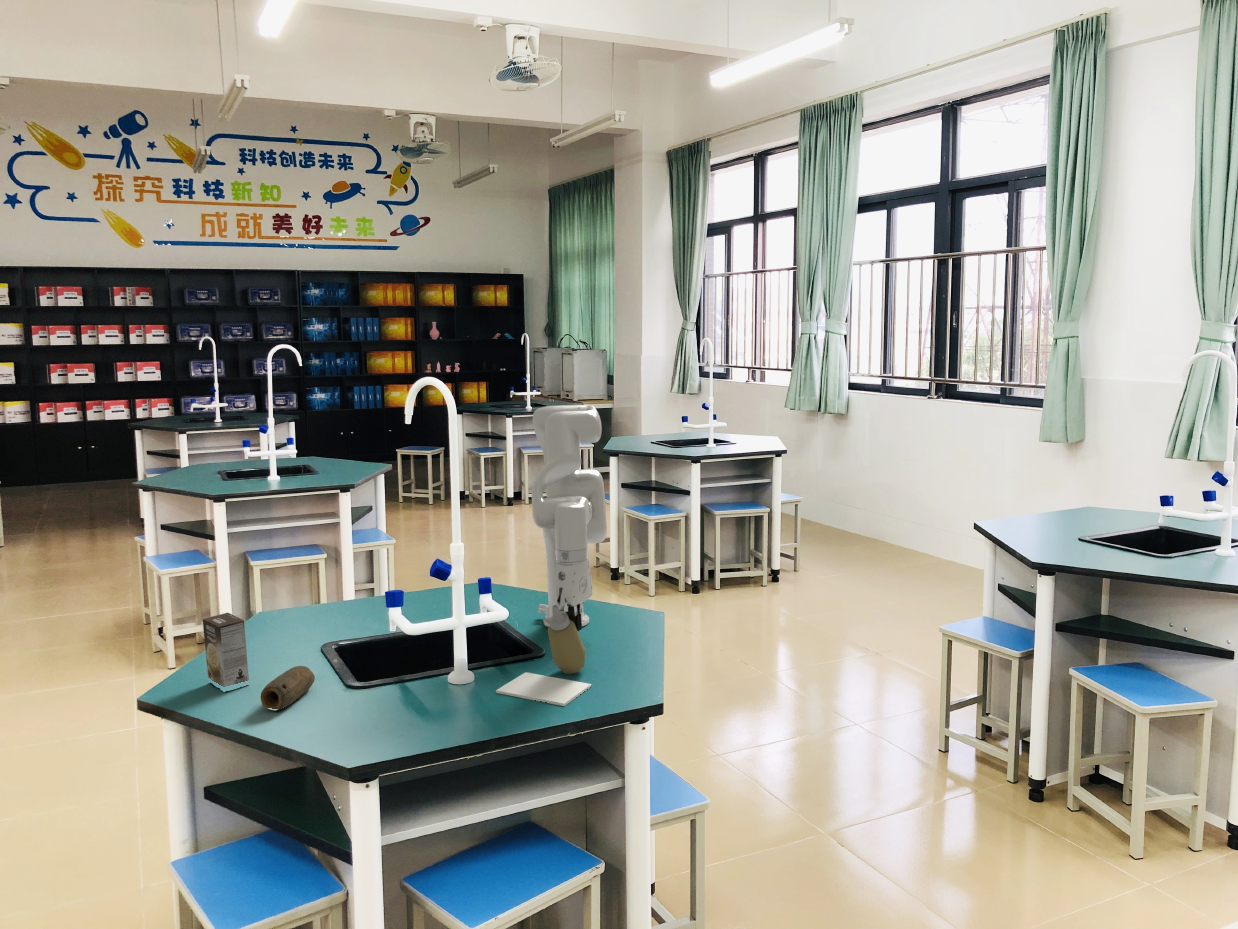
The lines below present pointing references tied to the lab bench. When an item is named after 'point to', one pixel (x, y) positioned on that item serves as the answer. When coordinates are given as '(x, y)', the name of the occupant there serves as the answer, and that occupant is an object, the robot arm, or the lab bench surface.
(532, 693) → the mat
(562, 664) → the squeeze bottle
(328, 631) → the lab bench surface
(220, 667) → the coffee box
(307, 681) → the brown hollow cylinder
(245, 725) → the lab bench surface
